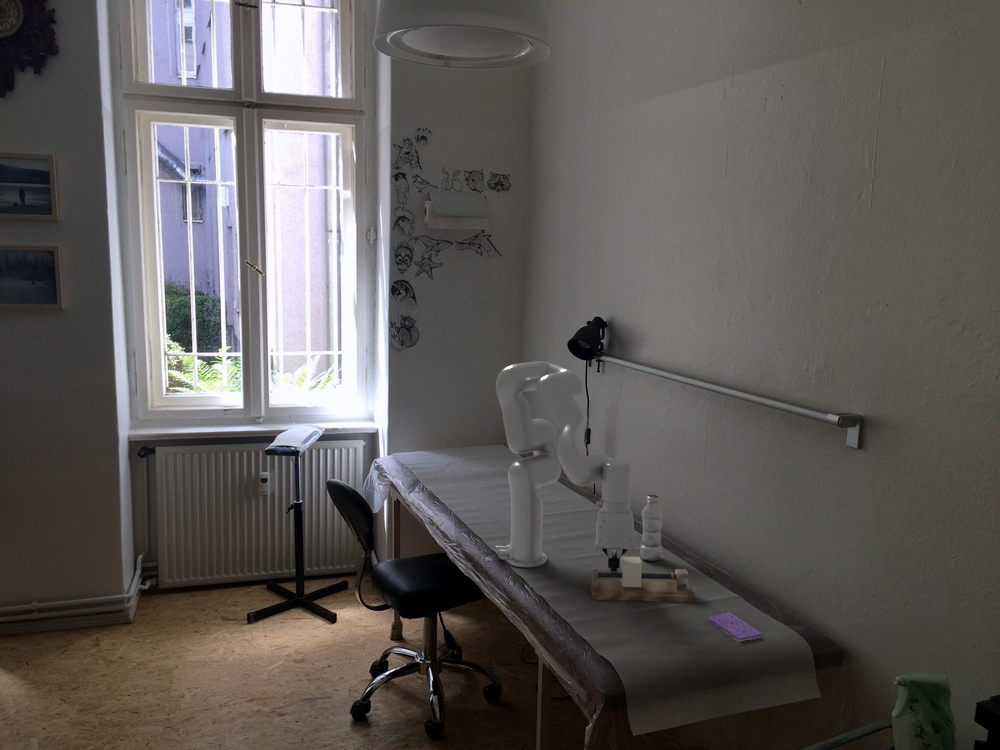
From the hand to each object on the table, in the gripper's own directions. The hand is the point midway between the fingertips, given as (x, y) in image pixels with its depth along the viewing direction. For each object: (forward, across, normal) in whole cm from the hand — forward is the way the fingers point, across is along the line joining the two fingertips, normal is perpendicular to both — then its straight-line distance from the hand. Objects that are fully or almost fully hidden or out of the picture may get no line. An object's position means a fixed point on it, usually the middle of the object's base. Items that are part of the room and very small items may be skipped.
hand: (613, 570), depth 217 cm
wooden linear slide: (+6, +8, 0) cm, 10 cm away
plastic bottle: (+7, +14, +25) cm, 29 cm away
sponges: (+7, +28, -20) cm, 35 cm away
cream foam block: (+4, +5, 0) cm, 6 cm away
